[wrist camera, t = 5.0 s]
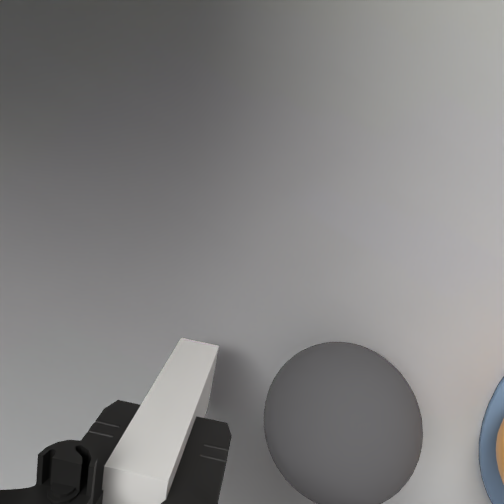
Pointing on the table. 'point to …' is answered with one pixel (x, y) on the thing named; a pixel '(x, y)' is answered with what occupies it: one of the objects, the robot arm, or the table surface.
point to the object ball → (500, 450)
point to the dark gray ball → (343, 425)
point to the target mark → (492, 446)
